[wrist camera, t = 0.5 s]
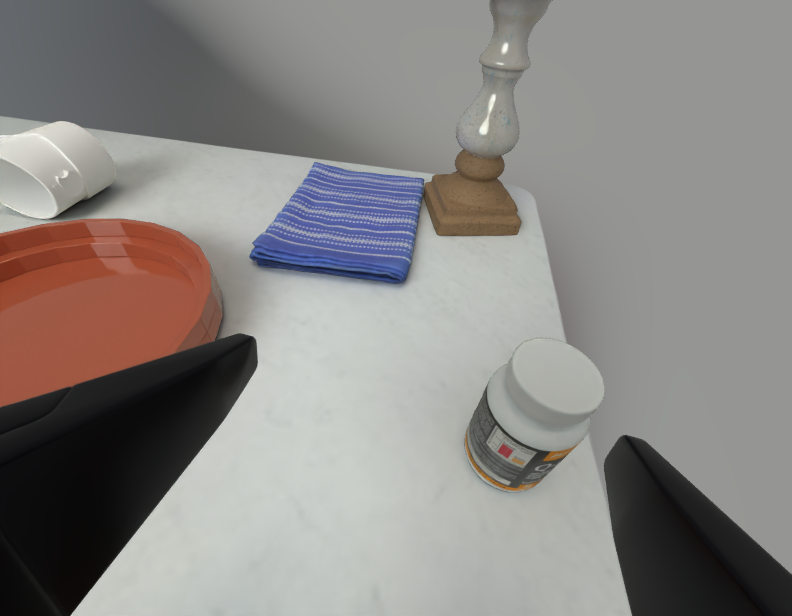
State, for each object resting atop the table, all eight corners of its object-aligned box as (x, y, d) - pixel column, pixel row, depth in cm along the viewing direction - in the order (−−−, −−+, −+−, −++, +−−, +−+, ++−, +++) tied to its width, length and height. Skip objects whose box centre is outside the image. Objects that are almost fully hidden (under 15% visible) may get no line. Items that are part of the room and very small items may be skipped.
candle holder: (422, 193, 51) (452, -33, 34) (492, 194, 52) (555, -23, 35) (437, 235, 43) (485, -29, 26) (519, 235, 45) (615, -17, 28)
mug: (133, 190, 46) (101, 126, 40) (74, 227, 40) (26, 157, 34) (54, 176, 47) (12, 112, 42) (-16, 210, 41) (-78, 139, 35)
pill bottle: (528, 514, 22) (608, 451, 15) (448, 461, 24) (485, 384, 17) (552, 441, 25) (625, 362, 18) (480, 401, 27) (521, 315, 20)
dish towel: (246, 269, 36) (239, 247, 34) (313, 173, 53) (311, 155, 51) (406, 292, 36) (409, 271, 34) (424, 187, 52) (426, 169, 50)
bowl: (86, 551, 19) (37, 535, 16) (-317, 474, 20) (-428, 446, 17) (268, 269, 37) (260, 237, 34) (46, 237, 38) (20, 204, 35)
